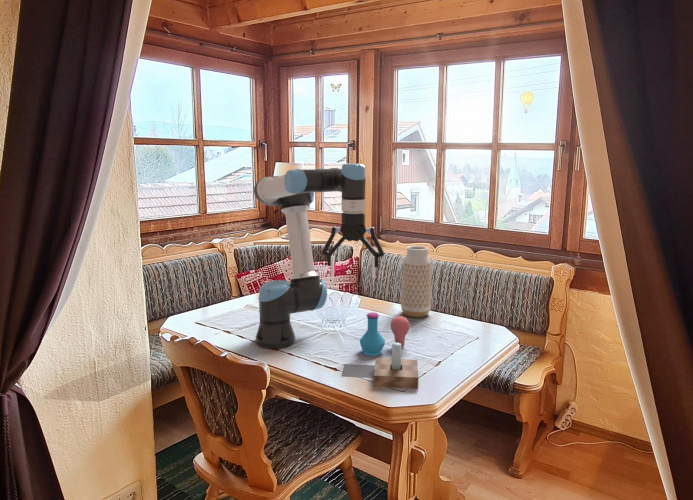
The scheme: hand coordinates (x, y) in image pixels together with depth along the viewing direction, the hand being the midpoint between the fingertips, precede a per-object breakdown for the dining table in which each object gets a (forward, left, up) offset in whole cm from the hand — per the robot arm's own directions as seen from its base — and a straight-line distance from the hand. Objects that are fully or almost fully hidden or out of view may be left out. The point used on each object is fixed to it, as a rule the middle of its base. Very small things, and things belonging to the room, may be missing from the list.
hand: (352, 276), depth 175 cm
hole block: (+15, -6, -33) cm, 36 cm away
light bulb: (+16, +22, -33) cm, 43 cm away
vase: (+23, +62, -33) cm, 74 cm away
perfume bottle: (+6, +15, -33) cm, 37 cm away
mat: (+3, -2, -33) cm, 33 cm away
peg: (+15, -6, -33) cm, 36 cm away
